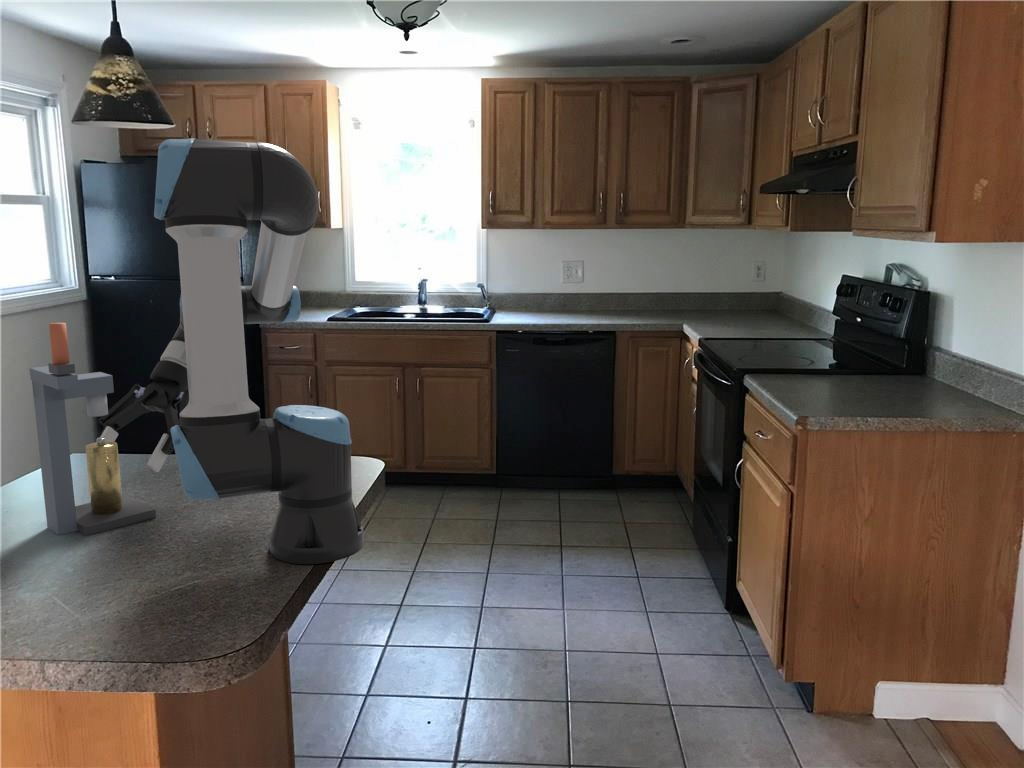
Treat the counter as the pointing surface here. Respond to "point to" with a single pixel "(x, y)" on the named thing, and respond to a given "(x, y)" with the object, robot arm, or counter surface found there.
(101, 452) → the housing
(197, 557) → the counter surface
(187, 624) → the counter surface
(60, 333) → the lever
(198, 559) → the counter surface
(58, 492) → the press
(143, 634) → the counter surface
